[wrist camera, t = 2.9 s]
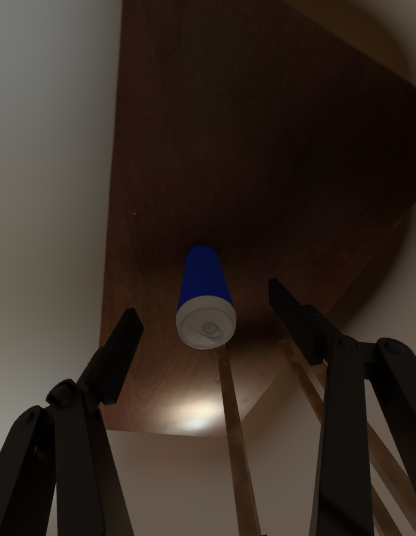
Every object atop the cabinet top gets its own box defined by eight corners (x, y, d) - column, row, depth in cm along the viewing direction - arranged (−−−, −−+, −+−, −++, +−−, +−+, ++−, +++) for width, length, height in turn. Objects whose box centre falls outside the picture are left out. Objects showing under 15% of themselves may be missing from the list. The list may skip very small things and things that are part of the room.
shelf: (286, 308, 32) (527, 626, 9) (286, 343, 36) (446, 618, 13) (212, 323, 33) (249, 661, 9) (220, 355, 37) (259, 642, 14)
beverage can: (179, 257, 26) (160, 328, 13) (203, 236, 25) (211, 290, 12) (200, 278, 28) (203, 359, 15) (224, 260, 27) (251, 330, 13)
